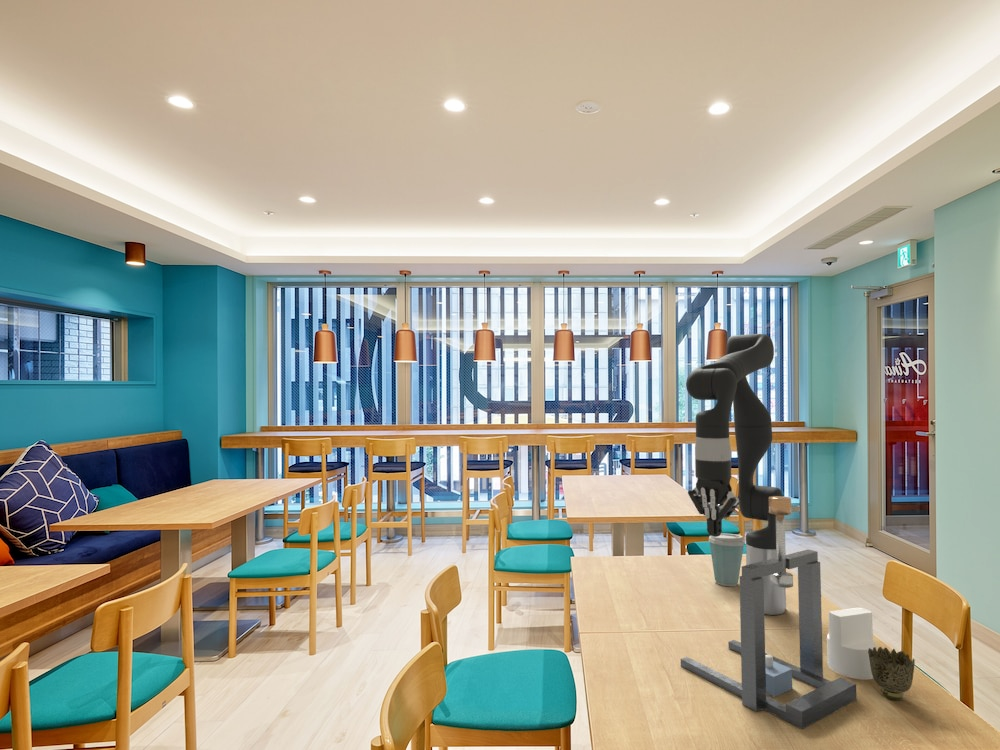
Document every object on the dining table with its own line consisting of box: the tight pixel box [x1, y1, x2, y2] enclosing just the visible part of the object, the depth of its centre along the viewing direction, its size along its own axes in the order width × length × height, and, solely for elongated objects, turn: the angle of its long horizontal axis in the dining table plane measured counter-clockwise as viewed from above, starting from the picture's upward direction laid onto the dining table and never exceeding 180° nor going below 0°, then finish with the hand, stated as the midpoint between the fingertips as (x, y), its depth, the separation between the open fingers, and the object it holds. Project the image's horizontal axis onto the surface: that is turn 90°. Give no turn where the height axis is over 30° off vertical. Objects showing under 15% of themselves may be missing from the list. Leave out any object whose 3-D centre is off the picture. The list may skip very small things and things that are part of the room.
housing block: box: [765, 654, 793, 698], centre depth 113 cm, size 6×6×6 cm
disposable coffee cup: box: [708, 532, 746, 587], centre depth 175 cm, size 11×11×15 cm
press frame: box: [680, 549, 858, 730], centre depth 115 cm, size 22×27×26 cm
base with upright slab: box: [826, 606, 877, 681], centre depth 120 cm, size 9×9×12 cm
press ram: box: [769, 496, 794, 589], centre depth 112 cm, size 4×4×17 cm
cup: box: [868, 646, 915, 701], centre depth 109 cm, size 8×7×8 cm
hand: (714, 535), depth 125 cm, fingers closed
